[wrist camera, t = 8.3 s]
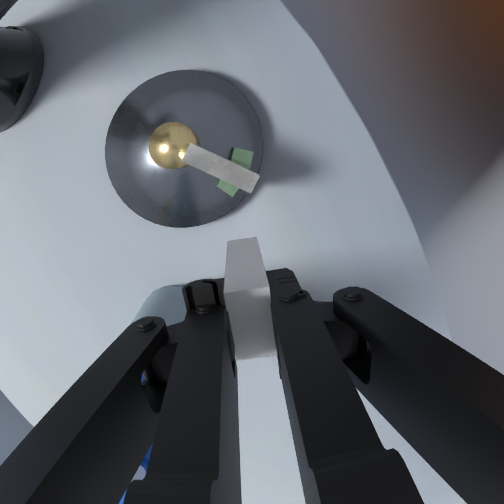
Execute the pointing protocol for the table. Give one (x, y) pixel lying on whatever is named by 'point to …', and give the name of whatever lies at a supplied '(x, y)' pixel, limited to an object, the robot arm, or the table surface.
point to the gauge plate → (211, 138)
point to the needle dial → (195, 156)
